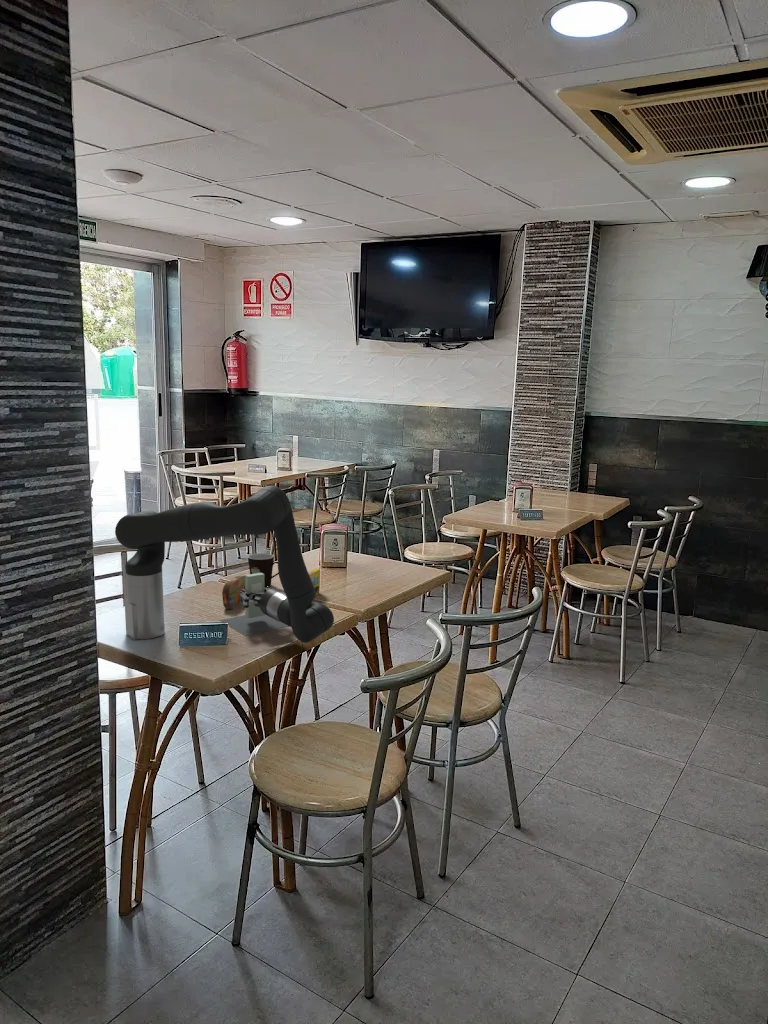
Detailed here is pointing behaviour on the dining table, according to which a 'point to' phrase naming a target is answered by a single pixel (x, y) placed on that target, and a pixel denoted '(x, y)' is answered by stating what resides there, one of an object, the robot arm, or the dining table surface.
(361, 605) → the dining table surface
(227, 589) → the tin
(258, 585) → the pale green box
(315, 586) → the candy box
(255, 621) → the mat
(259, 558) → the coffee mug
